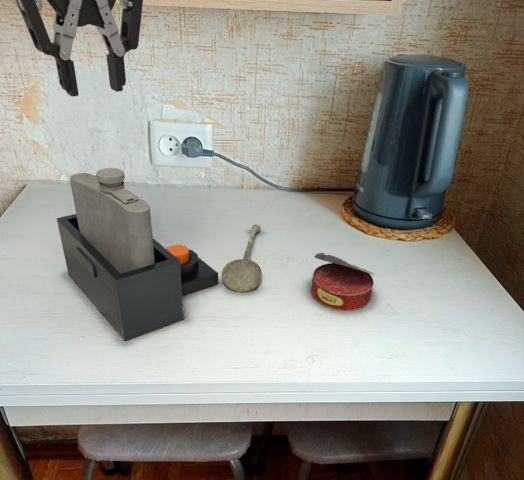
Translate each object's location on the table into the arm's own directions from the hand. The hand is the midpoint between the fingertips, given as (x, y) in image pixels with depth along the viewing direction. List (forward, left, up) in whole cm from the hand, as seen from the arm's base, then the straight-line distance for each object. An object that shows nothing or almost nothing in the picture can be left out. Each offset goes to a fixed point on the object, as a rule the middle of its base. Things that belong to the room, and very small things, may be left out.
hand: (94, 91), depth 61 cm
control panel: (+10, 0, -29) cm, 31 cm away
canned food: (+30, -18, -30) cm, 46 cm away
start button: (+10, 0, -26) cm, 28 cm away
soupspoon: (+24, -1, -30) cm, 38 cm away
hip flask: (0, -1, -30) cm, 30 cm away
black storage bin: (0, 0, -29) cm, 29 cm away
